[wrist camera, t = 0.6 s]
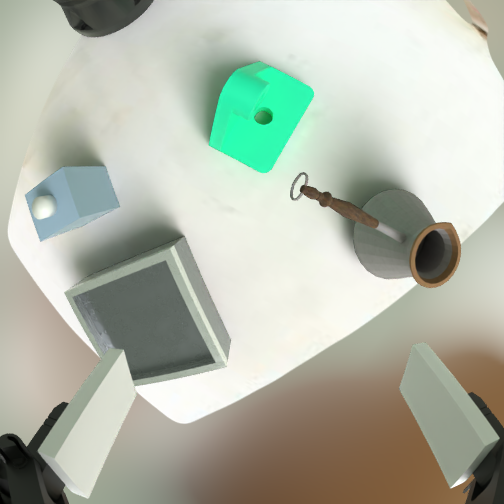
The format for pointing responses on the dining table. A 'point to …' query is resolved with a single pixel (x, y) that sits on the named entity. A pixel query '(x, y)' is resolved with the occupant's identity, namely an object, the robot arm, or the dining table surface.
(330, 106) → the dining table surface
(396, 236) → the coffee pot
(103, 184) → the blue bottle
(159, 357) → the open square box
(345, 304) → the dining table surface
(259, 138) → the camera mount
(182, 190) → the dining table surface
